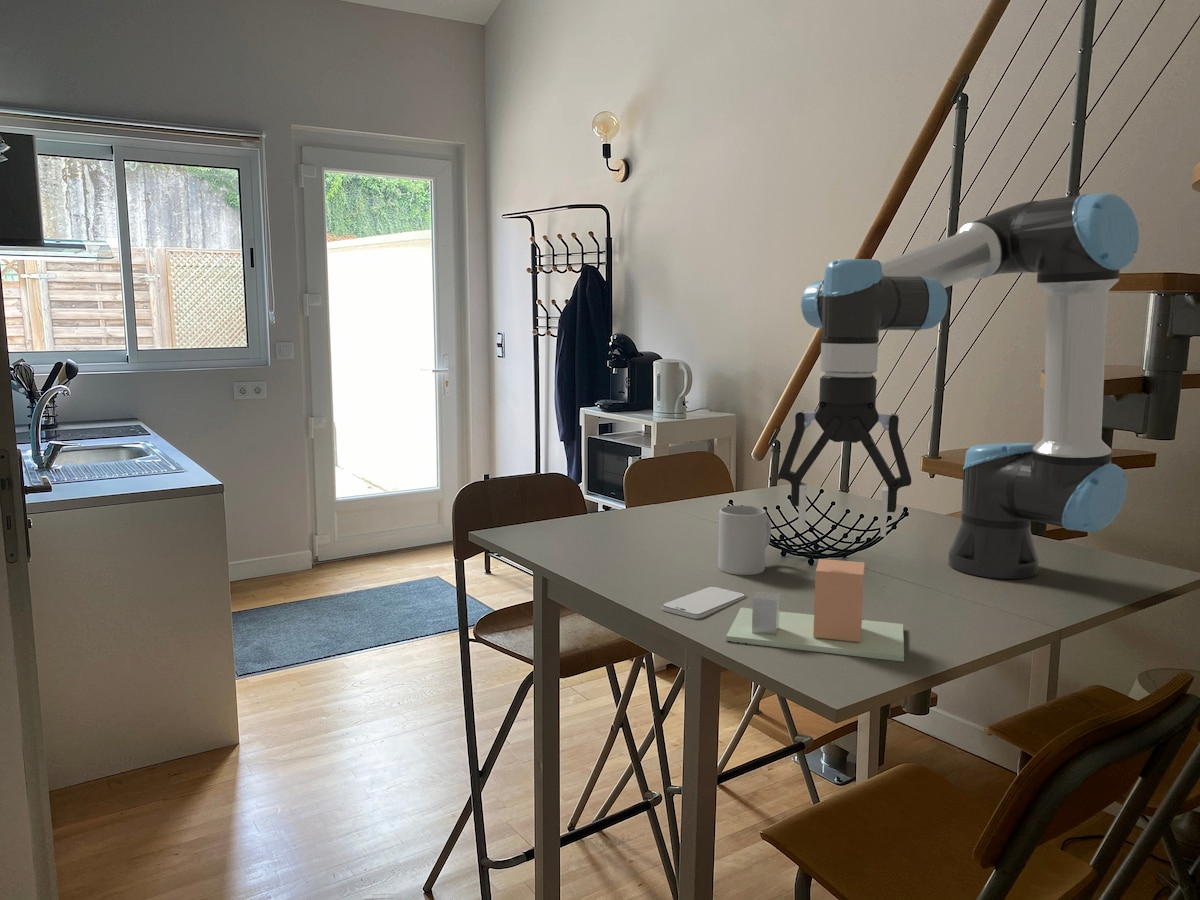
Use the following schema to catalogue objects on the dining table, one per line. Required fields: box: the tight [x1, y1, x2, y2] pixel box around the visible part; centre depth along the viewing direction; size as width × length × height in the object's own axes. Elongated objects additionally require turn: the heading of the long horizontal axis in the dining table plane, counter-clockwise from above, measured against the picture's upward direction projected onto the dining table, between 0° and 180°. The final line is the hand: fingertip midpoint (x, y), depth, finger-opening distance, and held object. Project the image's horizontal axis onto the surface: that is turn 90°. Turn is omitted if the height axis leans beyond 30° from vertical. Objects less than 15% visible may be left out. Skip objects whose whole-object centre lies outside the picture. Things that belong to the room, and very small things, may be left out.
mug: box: [717, 505, 772, 576], centre depth 162 cm, size 12×8×11 cm
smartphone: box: [661, 586, 747, 620], centre depth 143 cm, size 7×1×15 cm
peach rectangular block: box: [813, 558, 866, 642], centre depth 126 cm, size 6×6×10 cm
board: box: [725, 607, 905, 662], centre depth 128 cm, size 24×13×1 cm, turn 72°
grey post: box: [752, 591, 781, 636], centre depth 128 cm, size 3×3×6 cm
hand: (841, 531), depth 124 cm, fingers open, 10 cm apart
